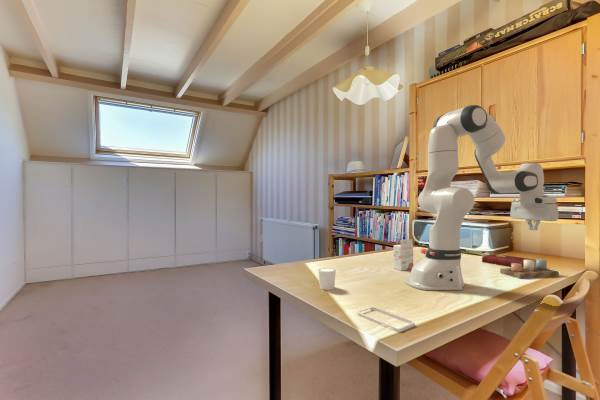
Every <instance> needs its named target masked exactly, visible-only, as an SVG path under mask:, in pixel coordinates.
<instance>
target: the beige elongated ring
mask: <svg viewBox="0 0 600 400" xmlns="http://www.w3.org/2000/svg"><path fill="white" fill-rule="evenodd" d="M368 310H369V311H375V312H378V313H381V314H384V315H386V316H389V317H391V318H395V319H397V320H398V321H401V322H405V323H406V324H405V325H404V326H401V327H396V326H393V325H391V324H389V323H386V322H383V321H381V320H379V319H376V318H374V317H371V316H370V315H366V314H364V313H362V312H364V311H368ZM356 314H357V316H358V317H361V318H363V319H366V320H368V321H370V322H373V323H375V324H378V325H379V326H380V325H384V326H386V327H389V328H391V329H392V331H394V332H397V333H401V332H403V331H405V330H408V329H411V328H412V327H413V328H414V327H415V321H413V320H410V319H407V318H405V317H402V316H399V315H396V314H394V313H391V312H389V311H386V310H382V309H380V308H378V307H376V306H371V307H368V308H364V309H362V310H358V311H357V312H356ZM407 323H408V324H407Z"/></svg>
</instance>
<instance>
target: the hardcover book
mask: <svg viewBox="0 0 600 400" xmlns="http://www.w3.org/2000/svg"><path fill="white" fill-rule="evenodd" d="M536 259H537V258H536ZM536 259H535V258H528V257H520V256H515V255H514V256H513V255H508V254H507V255H506V254H499V253H490V254H483V255H481V263H484V264H491V265H495V264H496V265H495V266H502V267H506V268H507V267H508V268H511V263H518V264H522V267H524V260H533V261H534V267H536Z"/></svg>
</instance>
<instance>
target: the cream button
mask: <svg viewBox="0 0 600 400" xmlns="http://www.w3.org/2000/svg"><path fill="white" fill-rule="evenodd" d="M524 270H525V271H534V261H533V260H524Z"/></svg>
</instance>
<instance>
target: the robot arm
mask: <svg viewBox="0 0 600 400" xmlns="http://www.w3.org/2000/svg"><path fill="white" fill-rule="evenodd" d="M499 125H500V124H498V123H497V121H496V120H495V119H494V117H493V116H491V115H490V113H488V112H487V111H486V110H485V109H484V108H483V107H482V106H481V105H477V104H471V105H467V106H464V107H461V108H457V109H454V110H451V111H449V112H446V113H445V114H441V115H440V116H438V117H437V118H436V119H435V120H434V122H433V126H432V127H433V128H432V129H430V131H429V135H428V142H427V177H426V181H425V184H424V187H423V189H422V191H421V192H420V193H419V195H418V196H417V197H418V198H417V203H418V206H419V208H420V209H421V210H422V211H425V212H427V213H429V214H436V218H435V221H434V223H433V224H432V225H431V226H430V228H429V230H428V231H429V233H428V234H429V236H428V237H429V239H428V240H429V241H428V242H429V246H428V248H426V249H425V248H423V247H422V248H421V254H423V255H425V257H423V258H422V259H421V260H420V261H418V262H417V263H416V264H415V265H413V267H412V269H410V270H411V271H410V277H406V278H405V279H404V283H406V284H407V285H408V286H410V287H413V288H414V289H418V290H423V291H462V290H463V287H465V285H466V284H465V282H464V279H463V274H462V266H461V259H462V250H461V248H460V247H461V244H460V243H461V242H460V241H461V235H460V234H461V228H462V224H463V221H464V220H465V217H466V215H467V214H468V213H469V212H470V211H471V210H473V207H474V205H475V197H474V194H473V192H472V191H471V190H469V189H468V188H466V187H461V186H456V185H455V186H451V184H452V180H453V178H454V177H455V176H456V175H457V173H458V172H459V147H458V139H459V137H463V136H466V135H468V137H469V138H470V140H471V141H472V144H473V145H474V148H475V150H474V157H475V160H476V163H477V164H478V167H479V169H480V171H481V173H482V175H483V177H484V181H485V184H486V188H487V189H488V191H489V192H490V193H492V194H494V195H501V194H517V193H519V199H518V198H517V199H516V198H515V199H513V200H512V201H511V206H510V213H509V215H510V216H509V217H511V219H513V220H525V224H526V225H527V227H528V230H530V231H538V230H539V229H538V228H539V225H540V224H541V221H542V222H556V221H558V220H559V217H560V216H559V215H560V214H559V207H558V205H557V202H558V199H557V198H556V197H553V196H549V195H547V194H545V189H544V184H545V175H544V170H543V169H544V168H543V167H542V165H541V164H540V163H537V162H526V163H525V162H524V163H521V164H520V166H519V167H518V168H517V169H515V170H512V171H500V170H498V169H497V168H496V165H495V162H494V161H493V158H492V156H494V155H495V154H497V153H498V152H500V150H501V149H502V148H503V147H504V145H505V143H506V137H505V134H504V131H503V130H502V129H501V127H500V126H499ZM533 223H534V224H533Z"/></svg>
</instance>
